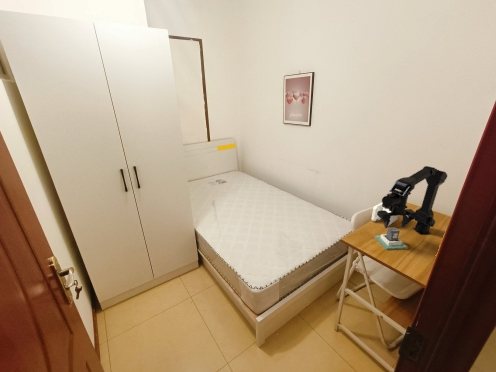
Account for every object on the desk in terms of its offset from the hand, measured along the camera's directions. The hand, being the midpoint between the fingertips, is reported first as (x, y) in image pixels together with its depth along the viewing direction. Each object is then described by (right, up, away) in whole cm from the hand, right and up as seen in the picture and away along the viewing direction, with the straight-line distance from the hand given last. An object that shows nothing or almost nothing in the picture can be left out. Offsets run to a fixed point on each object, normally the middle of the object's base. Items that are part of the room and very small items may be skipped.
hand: (393, 227), depth 122 cm
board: (+1, -9, +4) cm, 10 cm away
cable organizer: (+10, -1, +25) cm, 27 cm away
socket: (+1, -9, +4) cm, 10 cm away
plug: (+1, -9, +3) cm, 9 cm away
